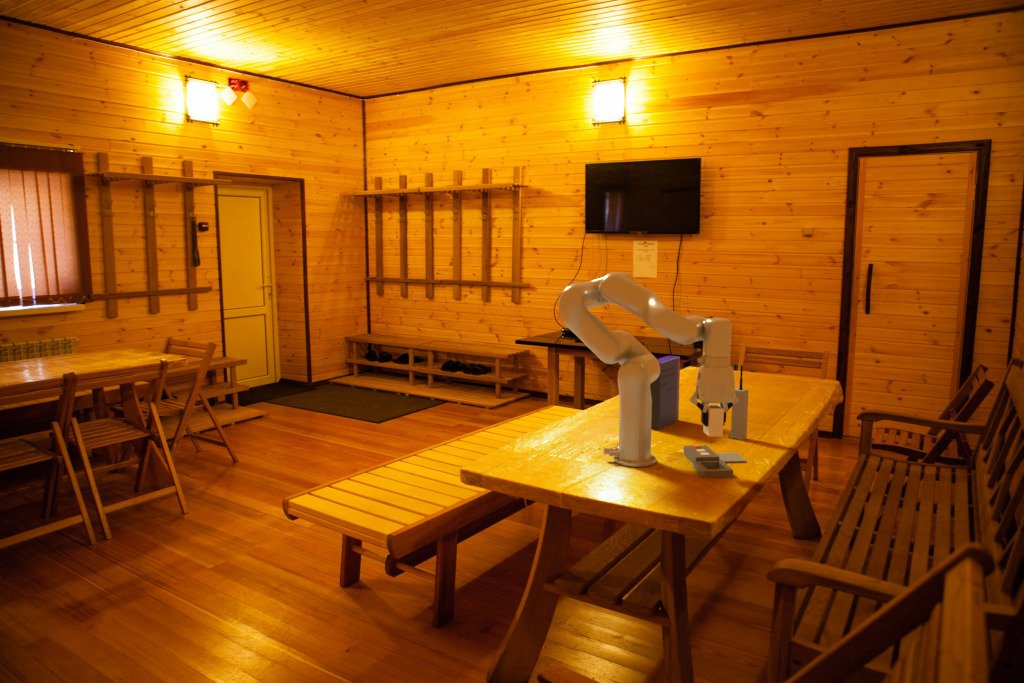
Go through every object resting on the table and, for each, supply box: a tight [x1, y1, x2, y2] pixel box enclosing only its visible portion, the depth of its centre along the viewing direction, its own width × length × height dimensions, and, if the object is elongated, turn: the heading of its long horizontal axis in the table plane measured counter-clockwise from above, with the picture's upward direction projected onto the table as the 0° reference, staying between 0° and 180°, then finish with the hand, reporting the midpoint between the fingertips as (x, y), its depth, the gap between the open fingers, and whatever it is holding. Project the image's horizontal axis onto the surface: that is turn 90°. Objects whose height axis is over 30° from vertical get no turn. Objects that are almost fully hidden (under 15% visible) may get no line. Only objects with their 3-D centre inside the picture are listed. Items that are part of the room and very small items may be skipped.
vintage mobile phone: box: [727, 364, 749, 441], centre depth 236 cm, size 4×5×25 cm
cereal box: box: [650, 355, 681, 431], centre depth 255 cm, size 17×5×24 cm, turn 145°
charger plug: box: [702, 404, 724, 438], centre depth 201 cm, size 4×5×8 cm
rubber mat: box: [715, 452, 747, 464], centre depth 216 cm, size 8×8×1 cm
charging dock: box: [683, 444, 734, 478], centre depth 209 cm, size 8×21×4 cm, turn 3°
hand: (713, 424), depth 202 cm, fingers closed on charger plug, 4 cm apart
